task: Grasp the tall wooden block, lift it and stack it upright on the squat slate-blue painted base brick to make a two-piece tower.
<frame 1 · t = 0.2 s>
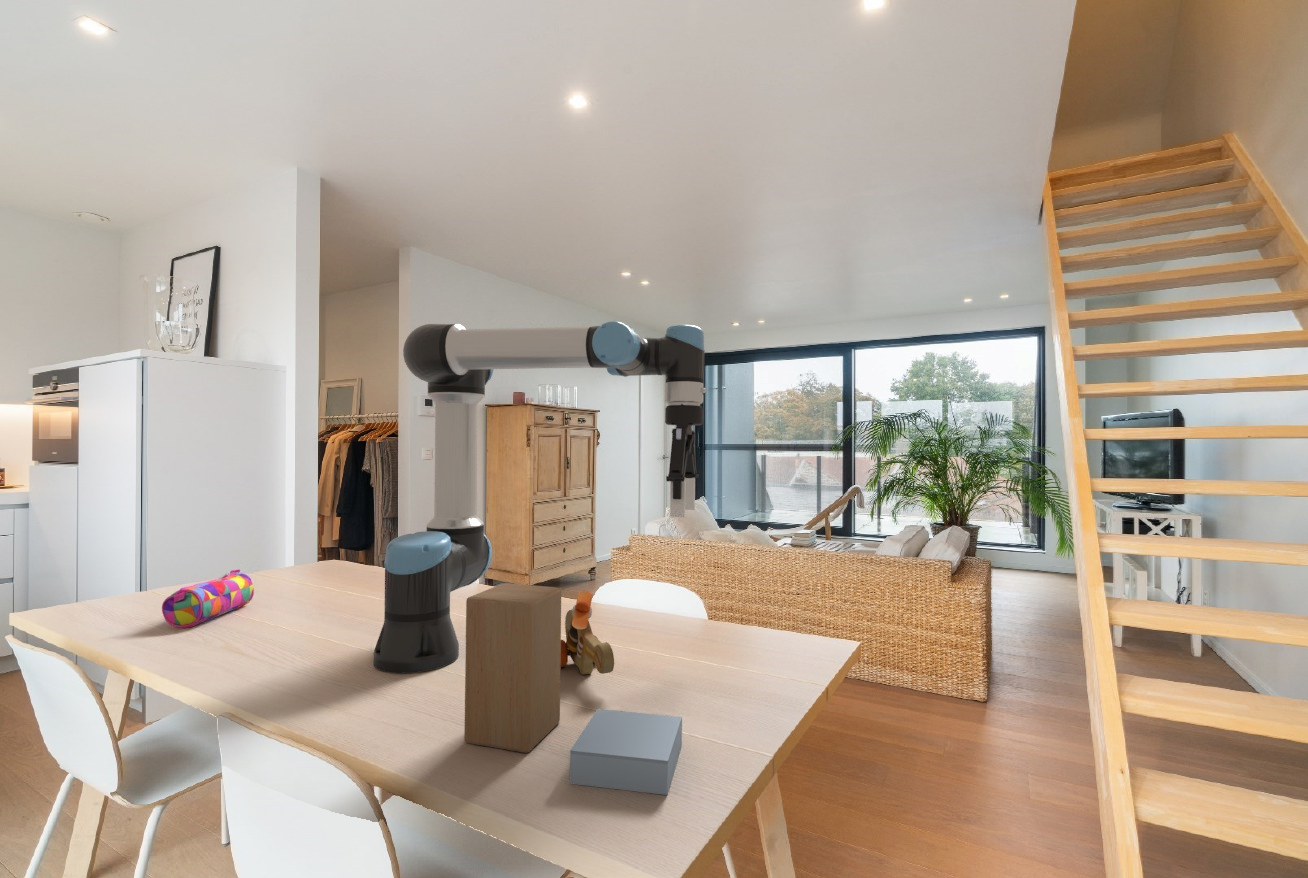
hand: (683, 513, 120), 28 cm above the table, fingers open, 13 cm apart
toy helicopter: (586, 675, 110), on the table
wooden block: (513, 734, 87), on the table
base brick: (629, 763, 79), on the table
pencil case: (211, 617, 144), on the table
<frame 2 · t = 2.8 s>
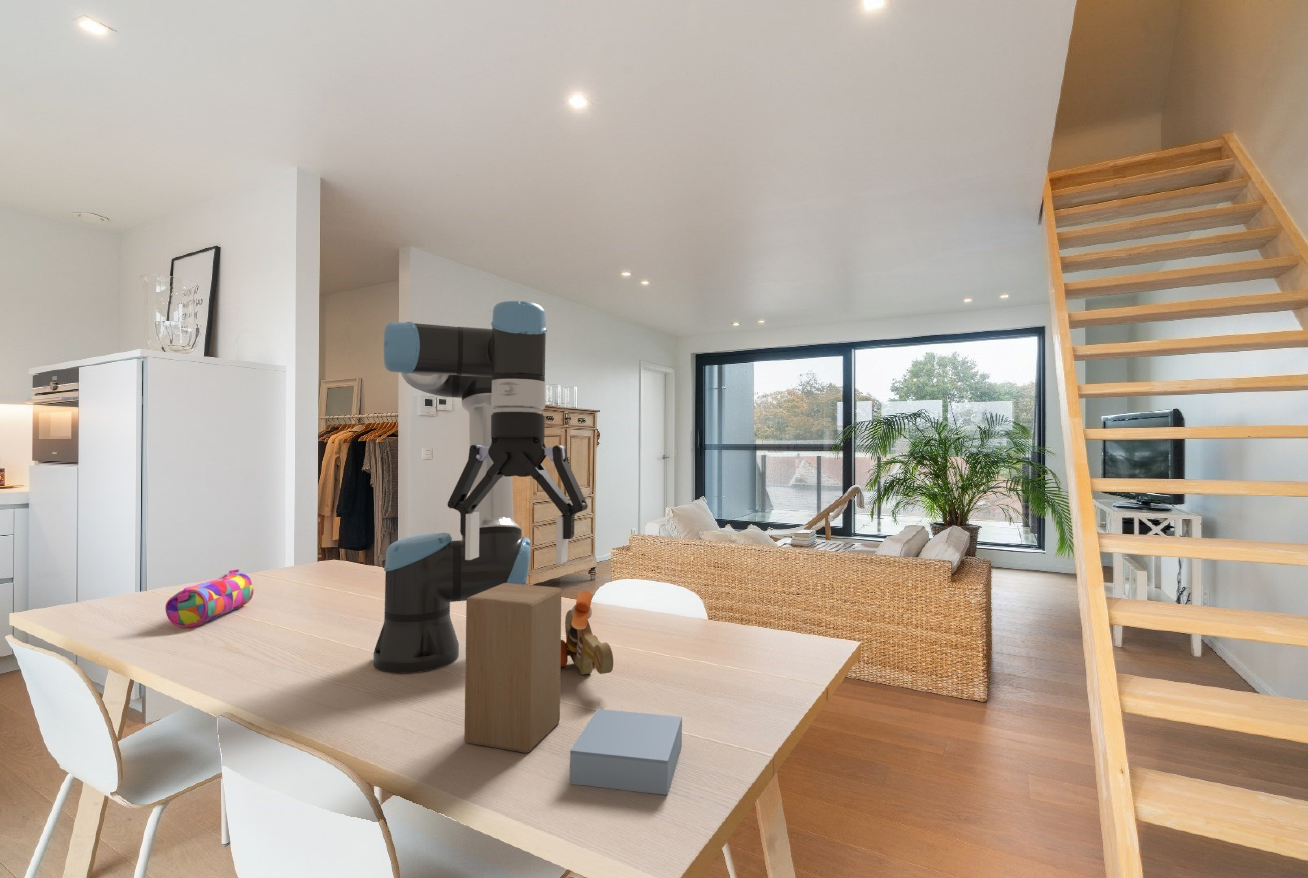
hand: (516, 560, 87), 24 cm above the table, fingers open, 13 cm apart
nothing on the table moved.
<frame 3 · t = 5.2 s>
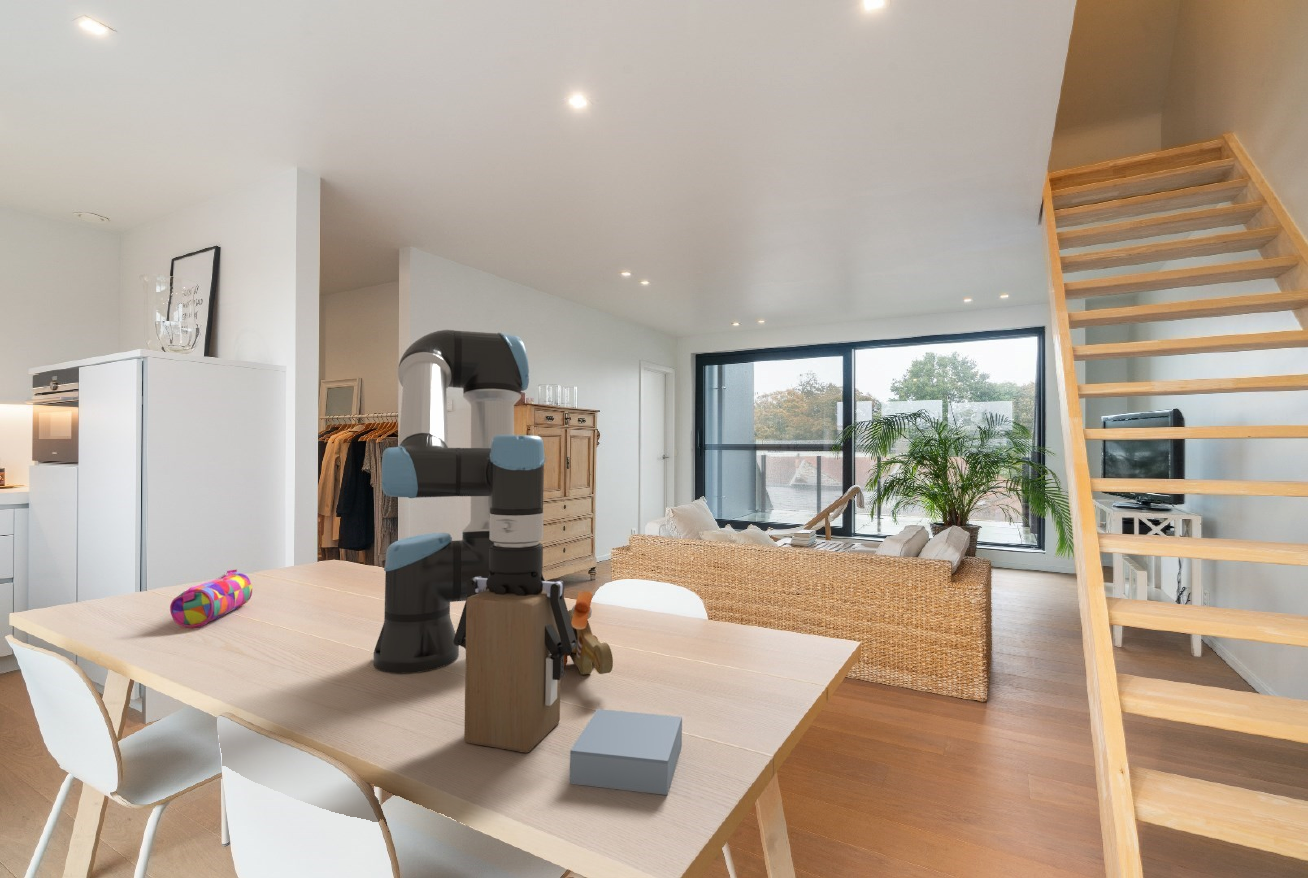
hand: (514, 698, 87), 5 cm above the table, fingers closed on wooden block, 10 cm apart
wooden block: (513, 734, 87), on the table, touching gripper
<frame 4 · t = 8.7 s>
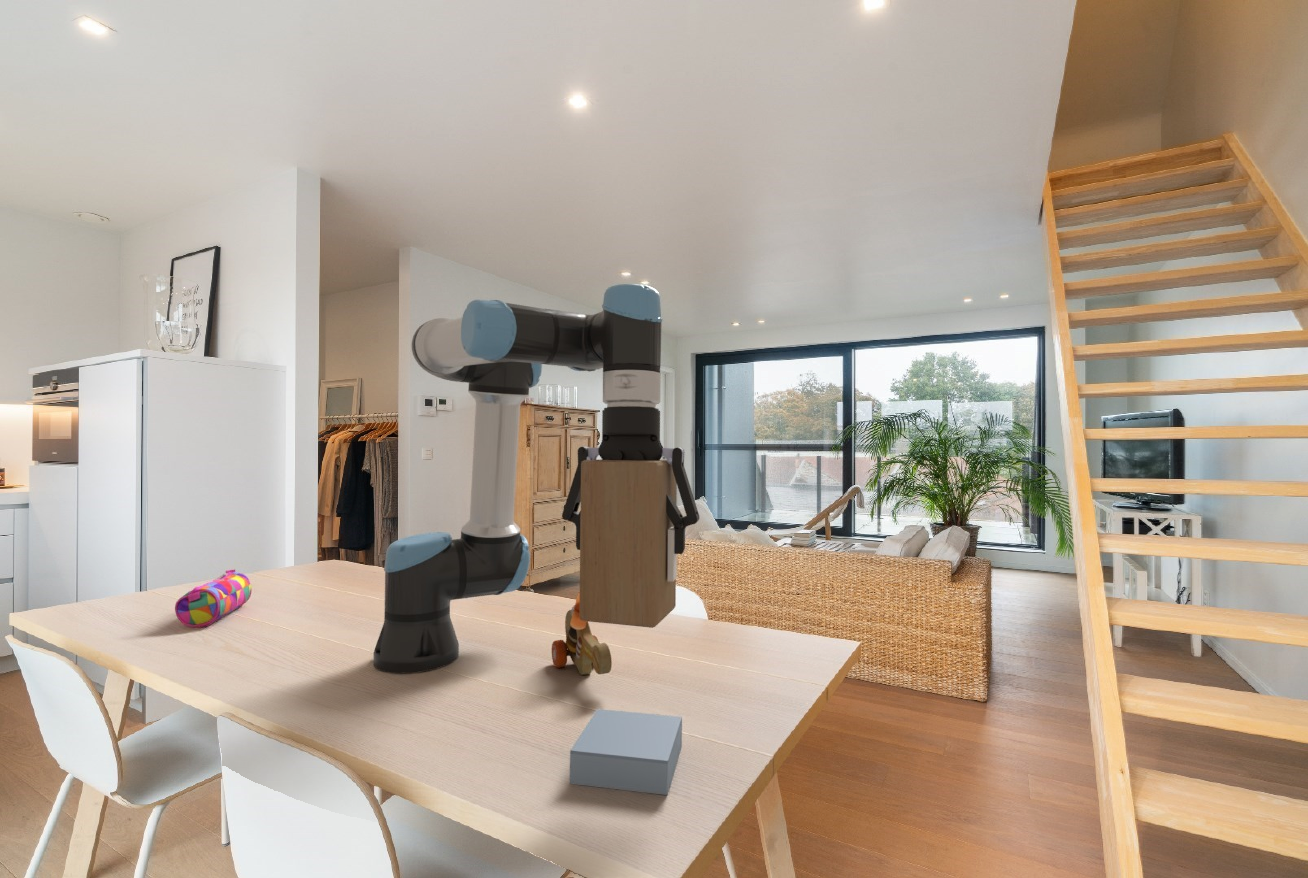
hand: (629, 577, 79), 24 cm above the table, fingers closed on wooden block, 10 cm apart
wooden block: (629, 616, 79), point 19 cm above the table, touching gripper
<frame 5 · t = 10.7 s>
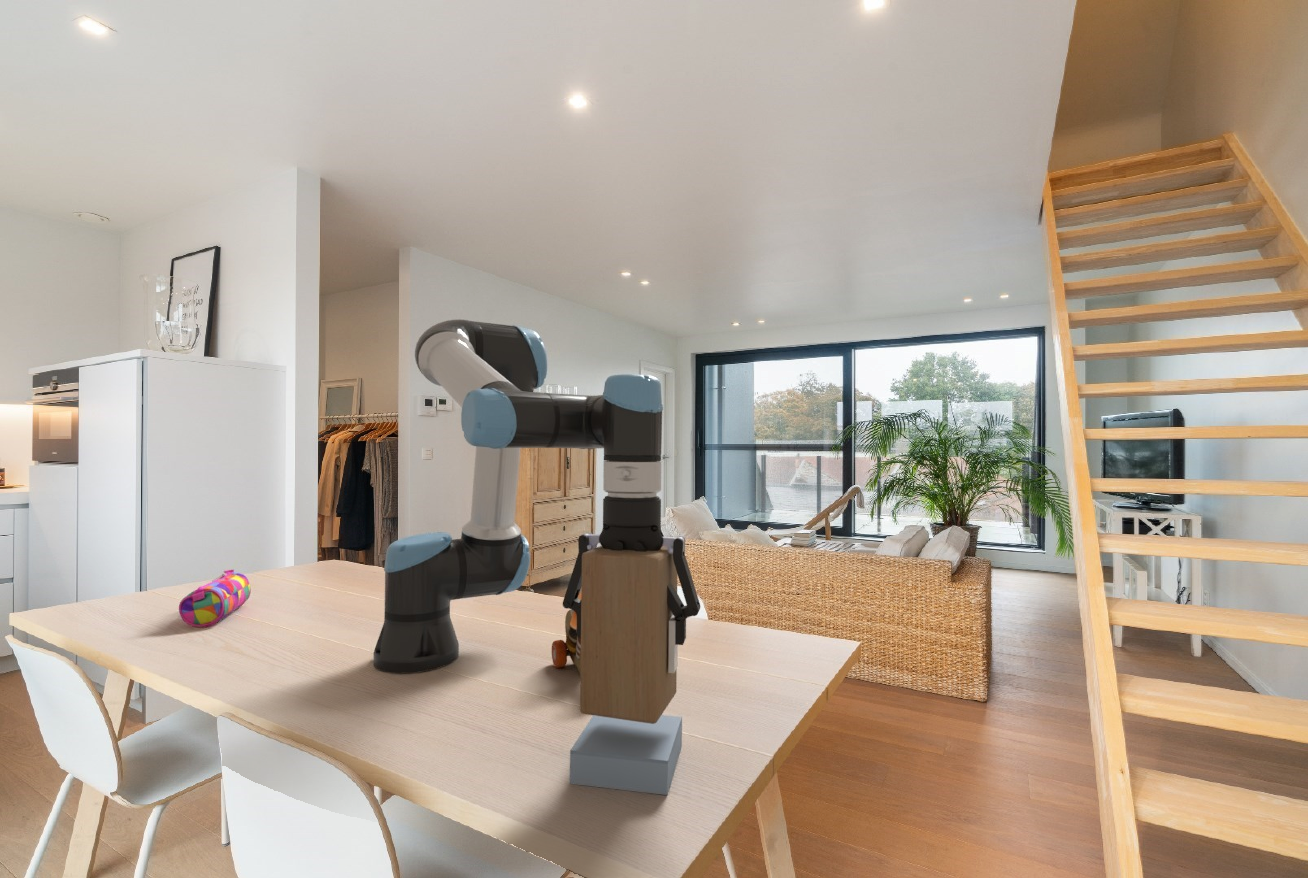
hand: (630, 666, 79), 13 cm above the table, fingers closed on wooden block, 10 cm apart
wooden block: (629, 705, 79), point 8 cm above the table, touching gripper
when the fingers open (10 cm above the table, at t = 12.2 s): wooden block drops 1 cm, resting on base brick.
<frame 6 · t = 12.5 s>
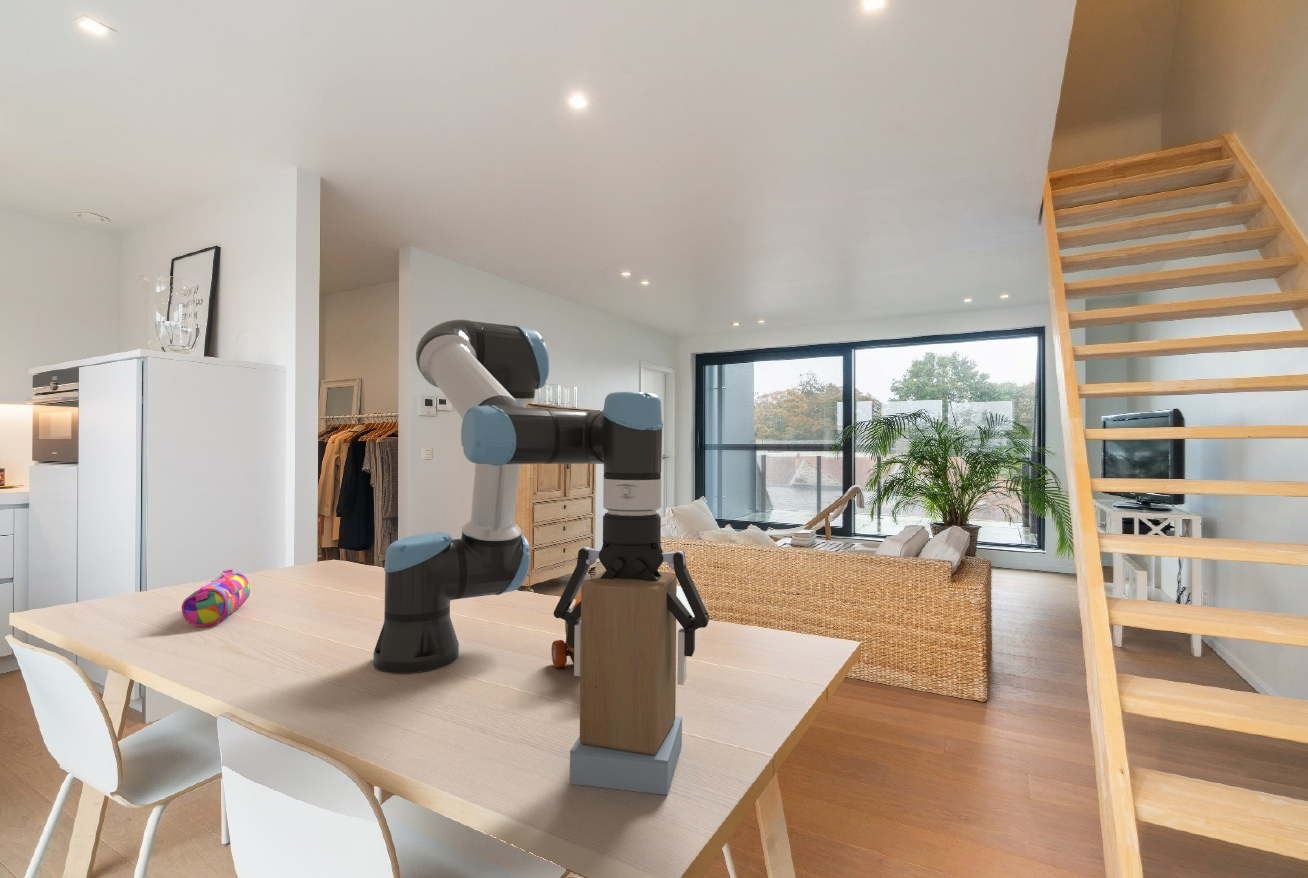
hand: (630, 676, 79), 11 cm above the table, fingers open, 13 cm apart
wooden block: (629, 733, 79), point 4 cm above the table, touching base brick
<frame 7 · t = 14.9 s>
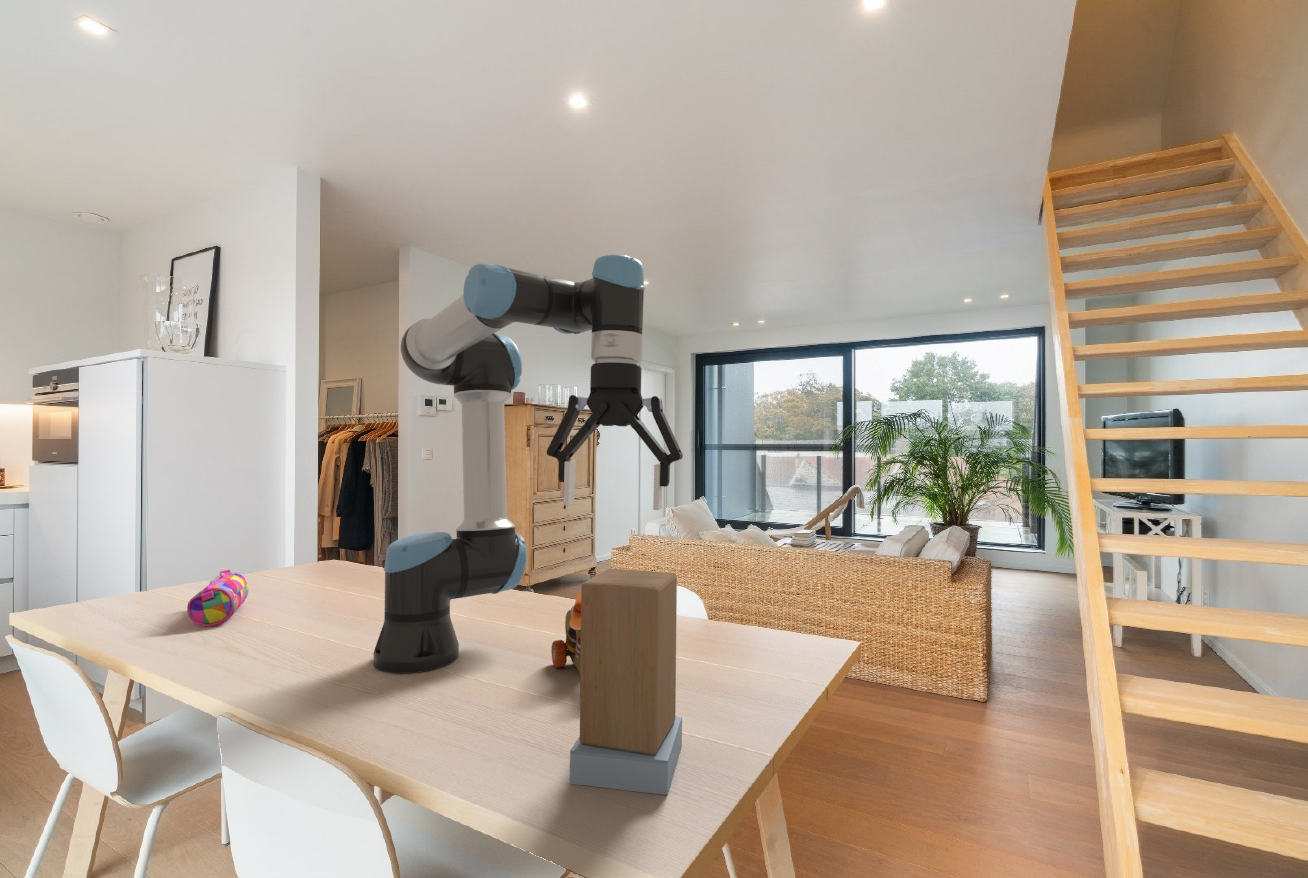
hand: (612, 507, 91), 32 cm above the table, fingers open, 13 cm apart
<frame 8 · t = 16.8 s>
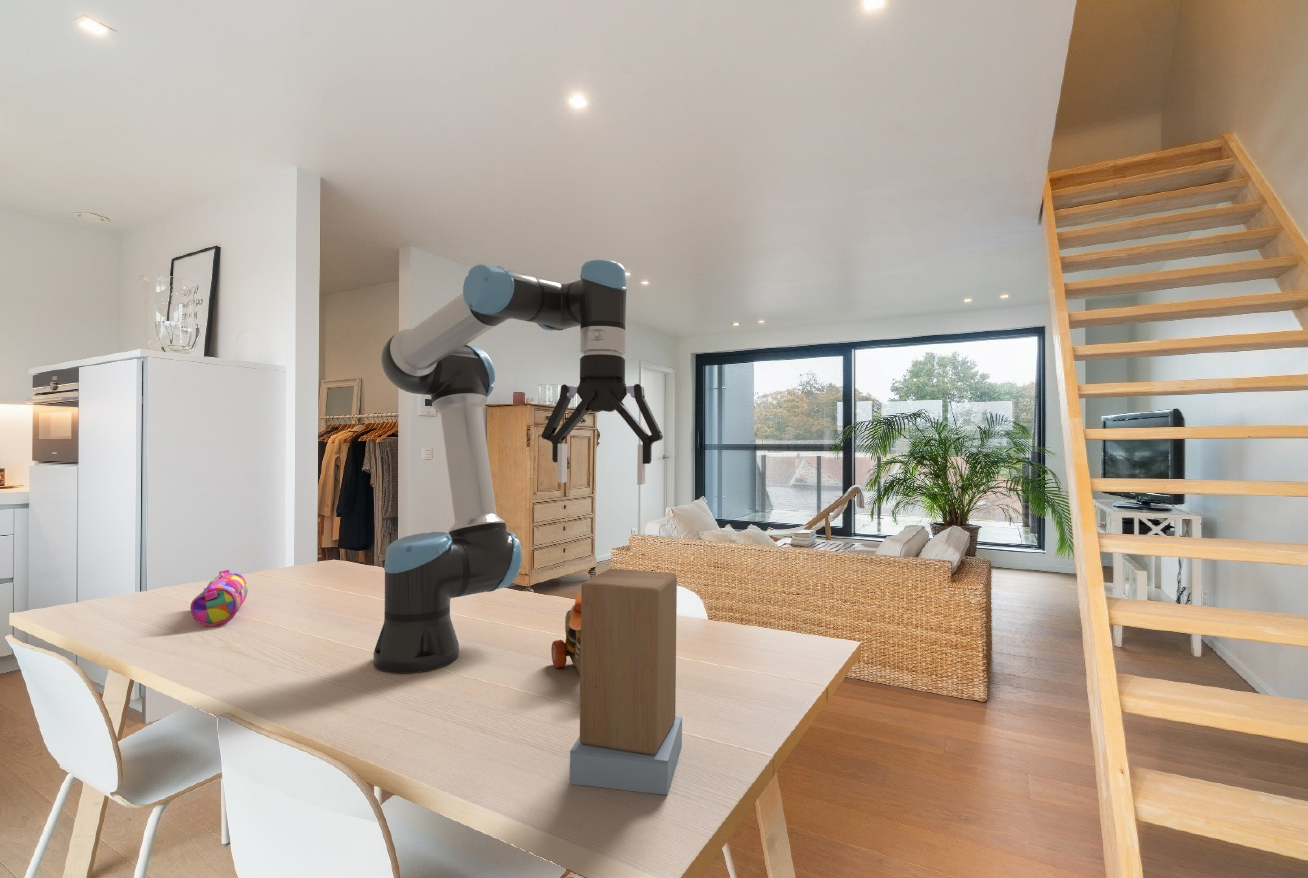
hand: (601, 483, 102), 35 cm above the table, fingers open, 13 cm apart
at the end: wooden block 0.0 cm from the base brick (horizontally); wooden block tilted 0°; wooden block touching base brick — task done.
